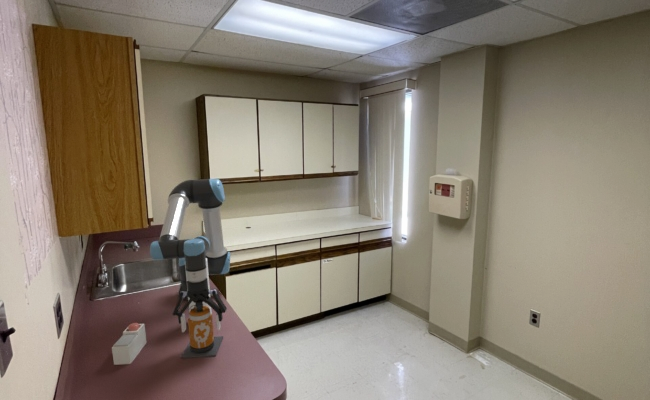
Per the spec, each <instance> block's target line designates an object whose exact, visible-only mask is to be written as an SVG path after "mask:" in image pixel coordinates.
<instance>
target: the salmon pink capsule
mask: <svg viewBox="0 0 650 400" xmlns="http://www.w3.org/2000/svg"><path fill="white" fill-rule="evenodd" d="M139 324H140V323H138V322H132V323H130V324H129V325H128V326H127V327H128V328H129V331H137V330H138V329H139Z"/></svg>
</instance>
